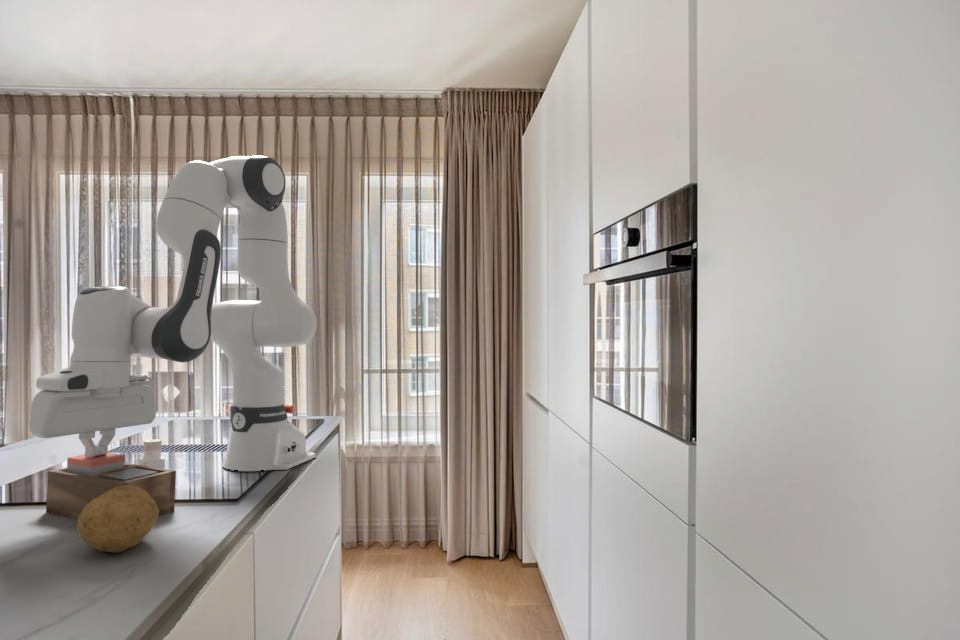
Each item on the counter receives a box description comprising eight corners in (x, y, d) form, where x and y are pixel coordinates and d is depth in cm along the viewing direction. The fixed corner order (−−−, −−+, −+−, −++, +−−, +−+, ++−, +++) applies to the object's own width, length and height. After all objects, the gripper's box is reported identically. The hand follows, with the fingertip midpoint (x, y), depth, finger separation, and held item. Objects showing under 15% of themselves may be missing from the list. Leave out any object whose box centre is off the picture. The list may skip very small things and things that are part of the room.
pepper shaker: (136, 488, 113) (138, 440, 113) (159, 485, 116) (161, 438, 116) (141, 492, 110) (143, 443, 110) (164, 489, 113) (166, 441, 113)
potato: (61, 572, 74) (64, 509, 74) (90, 535, 87) (92, 482, 87) (147, 563, 77) (150, 503, 78) (163, 529, 90) (165, 478, 91)
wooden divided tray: (104, 497, 106) (105, 459, 107) (174, 511, 100) (175, 470, 100) (46, 512, 97) (48, 470, 97) (119, 528, 90) (121, 483, 91)
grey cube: (132, 502, 101) (134, 467, 101) (156, 506, 98) (158, 471, 99) (98, 511, 95) (100, 475, 95) (123, 516, 93) (125, 479, 93)
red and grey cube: (100, 484, 104) (101, 451, 104) (123, 488, 102) (124, 455, 102) (65, 492, 98) (67, 457, 99) (89, 497, 96) (90, 461, 96)
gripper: (142, 373, 111) (138, 444, 111) (25, 379, 92) (20, 465, 92) (165, 375, 109) (162, 448, 109) (50, 381, 90) (46, 470, 90)
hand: (96, 456), depth 100 cm, fingers closed, pressing on red and grey cube
